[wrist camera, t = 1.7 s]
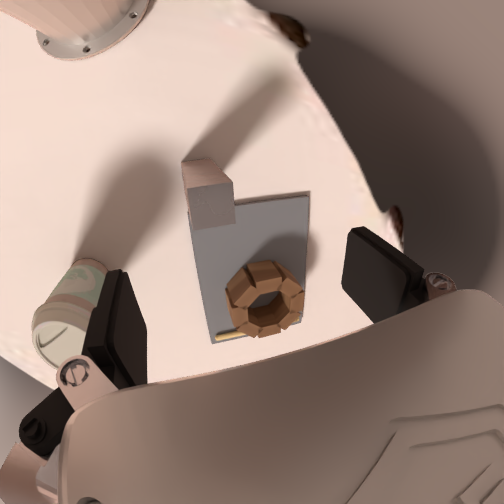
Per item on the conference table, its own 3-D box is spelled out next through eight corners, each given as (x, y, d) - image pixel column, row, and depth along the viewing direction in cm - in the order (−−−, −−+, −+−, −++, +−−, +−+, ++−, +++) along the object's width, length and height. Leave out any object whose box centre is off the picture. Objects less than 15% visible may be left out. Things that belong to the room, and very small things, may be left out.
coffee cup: (116, 245, 28) (95, 314, 18) (127, 305, 32) (121, 380, 22) (52, 250, 26) (12, 315, 15) (70, 307, 29) (48, 378, 19)
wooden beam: (180, 162, 26) (187, 188, 17) (209, 158, 27) (232, 181, 17) (184, 189, 28) (192, 230, 18) (212, 185, 28) (235, 223, 19)
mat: (187, 212, 29) (188, 216, 28) (306, 195, 32) (312, 198, 31) (211, 341, 39) (212, 348, 37) (299, 320, 42) (303, 325, 40)
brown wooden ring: (222, 268, 33) (229, 287, 29) (292, 255, 35) (306, 271, 31) (229, 323, 37) (236, 343, 34) (290, 308, 39) (301, 326, 36)
